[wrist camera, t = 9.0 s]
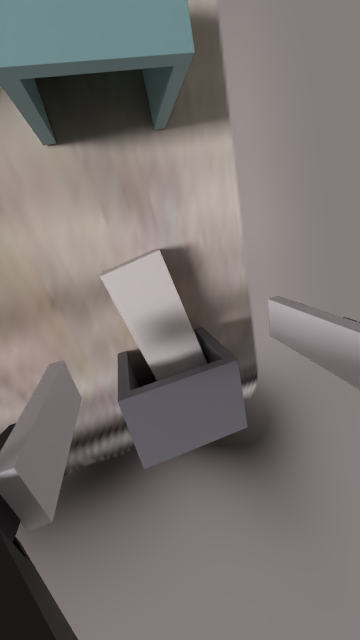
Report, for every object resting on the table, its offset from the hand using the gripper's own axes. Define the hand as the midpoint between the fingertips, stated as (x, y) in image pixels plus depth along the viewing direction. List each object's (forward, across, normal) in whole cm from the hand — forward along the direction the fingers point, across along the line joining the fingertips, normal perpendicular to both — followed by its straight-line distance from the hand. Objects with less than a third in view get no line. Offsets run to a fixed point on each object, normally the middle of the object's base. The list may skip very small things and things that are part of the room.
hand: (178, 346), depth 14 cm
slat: (+10, 0, -1) cm, 10 cm away
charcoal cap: (+9, 0, -7) cm, 12 cm away
